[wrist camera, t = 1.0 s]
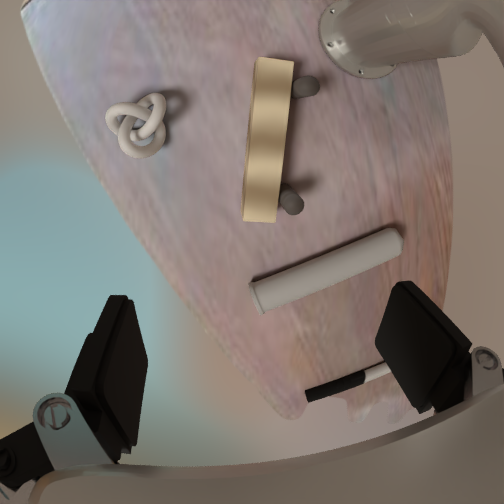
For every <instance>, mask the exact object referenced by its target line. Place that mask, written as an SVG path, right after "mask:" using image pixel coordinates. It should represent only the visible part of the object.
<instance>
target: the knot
mask: <svg viewBox="0 0 504 504" xmlns="http://www.w3.org/2000/svg"><path fill="white" fill-rule="evenodd" d="M153 104H154V108H153V111H151V110H149V109H147V108H148V107H149V106H151V105H153ZM165 111H166V100H165V98H164V96H163V95H161V94H159V93H151V94H149V95H147V96H145V97H144V98H142V99H141V100H140V101H139V102H138V103H137V104H135V103H129V102H122V103H117V104H115V105H113V106H111V107H110V108H109V109H108V111H107V112H106V116H105V120H106V124H107V126H108V127H109V129H110V130H111V131H112V132H113V133H115V134H116V135H117V136H118V142H119V145H120V147H121V149H122V150H123V151H124V152H125V153H126V154H127V155H129V156H131V157H134V158H147V157H150V156H152V155H154V154H155V153H156V152H158V151H159V150H160V148H161V147H162V145H163V144H164V141H165V137H166V129H165V126H164V123H163V121H162V119H163V117H164V115H165ZM118 115H127V116H126V117H125V119H124V120H123V122H122V124H121V123H120V122H119V121H118V119H117V116H118ZM138 118H140V119H142V120H144V121H146V123H145V124H144V126H143V127H142V128H140V129H138V130H132V127H133V125H134V124H135V122H136V120H137V119H138ZM153 132H154V133H155V135H154V139H153V141H152V142H151V143H150V144H148V145H146V146H137V145H135V144H134V143H133V142H132V141H140V140H144V139H146V138H147V137H149V136H150V135H151V134H152V133H153Z"/></svg>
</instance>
